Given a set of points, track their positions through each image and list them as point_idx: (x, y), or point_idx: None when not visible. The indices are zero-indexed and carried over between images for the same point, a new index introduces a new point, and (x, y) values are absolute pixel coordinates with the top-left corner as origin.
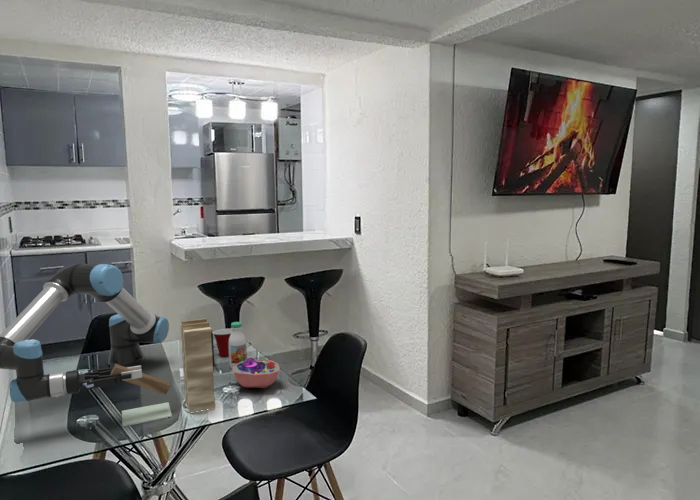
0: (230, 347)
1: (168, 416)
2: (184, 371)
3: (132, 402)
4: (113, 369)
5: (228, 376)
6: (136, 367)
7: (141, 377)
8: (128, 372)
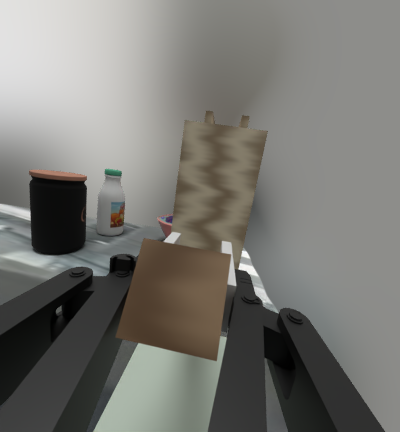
0: (110, 205)
1: None
2: (193, 235)
3: None
4: (201, 284)
5: (128, 244)
6: (176, 242)
7: None
8: (233, 267)
